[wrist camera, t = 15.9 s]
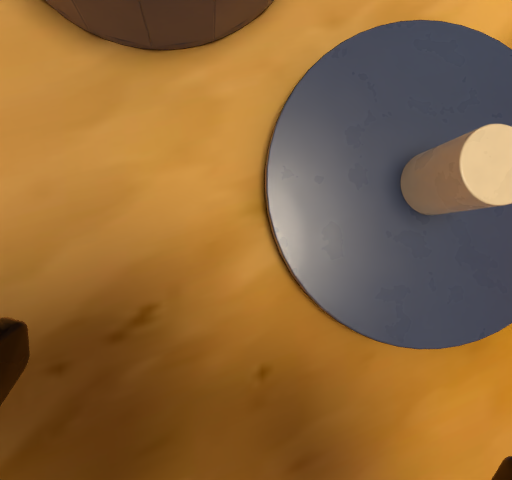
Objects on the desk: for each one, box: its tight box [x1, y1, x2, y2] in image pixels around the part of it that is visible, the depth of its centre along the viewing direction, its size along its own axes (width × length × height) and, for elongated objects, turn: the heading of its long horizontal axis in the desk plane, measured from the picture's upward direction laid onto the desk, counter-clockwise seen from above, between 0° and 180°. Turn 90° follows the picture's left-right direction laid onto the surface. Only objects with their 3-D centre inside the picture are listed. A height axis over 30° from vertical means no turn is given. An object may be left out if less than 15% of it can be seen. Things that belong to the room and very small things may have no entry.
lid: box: [265, 20, 512, 349], centre depth 18 cm, size 14×14×6 cm
